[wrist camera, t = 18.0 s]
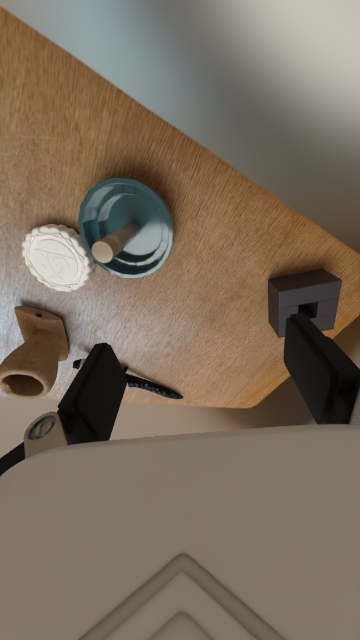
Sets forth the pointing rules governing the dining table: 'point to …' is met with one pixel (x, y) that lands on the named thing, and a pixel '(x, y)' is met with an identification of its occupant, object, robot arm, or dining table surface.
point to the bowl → (120, 209)
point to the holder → (304, 299)
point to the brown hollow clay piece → (34, 355)
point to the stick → (114, 242)
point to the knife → (140, 383)
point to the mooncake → (58, 257)
